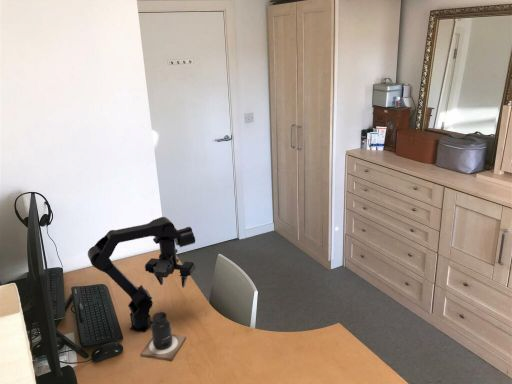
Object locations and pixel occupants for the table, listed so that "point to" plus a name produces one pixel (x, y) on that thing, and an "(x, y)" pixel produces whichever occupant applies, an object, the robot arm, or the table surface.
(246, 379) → the table surface
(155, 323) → the supplement bottle
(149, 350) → the walnut board
